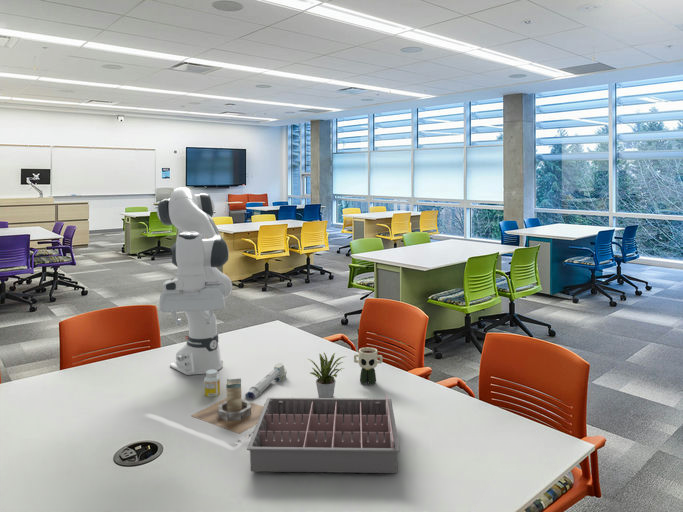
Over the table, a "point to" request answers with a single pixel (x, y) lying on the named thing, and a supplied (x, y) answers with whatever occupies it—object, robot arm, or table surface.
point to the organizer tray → (325, 436)
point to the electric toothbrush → (267, 381)
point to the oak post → (234, 395)
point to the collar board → (230, 424)
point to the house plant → (326, 376)
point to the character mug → (367, 364)
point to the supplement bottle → (212, 383)
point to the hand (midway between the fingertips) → (193, 324)
